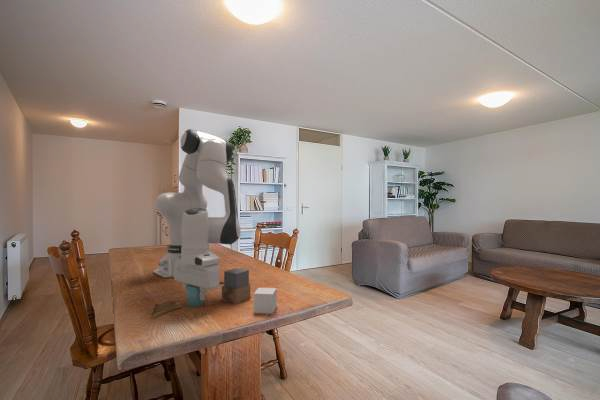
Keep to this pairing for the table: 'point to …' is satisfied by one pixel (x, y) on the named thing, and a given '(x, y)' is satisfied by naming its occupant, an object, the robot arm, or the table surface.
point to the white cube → (265, 300)
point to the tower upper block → (236, 278)
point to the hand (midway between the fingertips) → (195, 297)
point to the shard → (165, 307)
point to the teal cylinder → (193, 296)
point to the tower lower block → (235, 293)
